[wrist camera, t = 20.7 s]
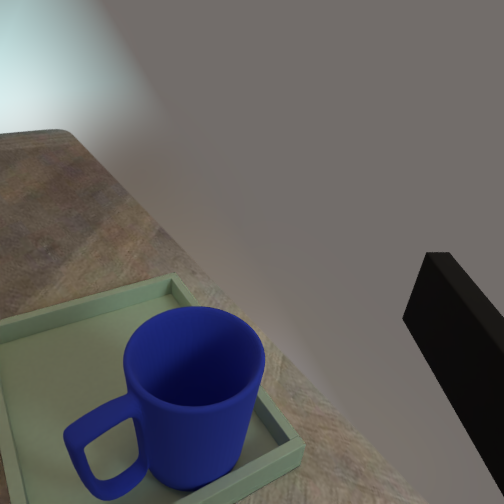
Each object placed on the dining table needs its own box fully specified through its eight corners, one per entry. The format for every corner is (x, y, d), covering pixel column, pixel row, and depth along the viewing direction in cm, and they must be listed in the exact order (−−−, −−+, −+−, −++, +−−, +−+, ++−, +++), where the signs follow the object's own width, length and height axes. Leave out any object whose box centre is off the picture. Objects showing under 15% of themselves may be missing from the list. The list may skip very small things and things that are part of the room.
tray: (300, 465, 33) (306, 444, 31) (37, 617, 24) (29, 597, 23) (175, 291, 47) (175, 271, 46) (-17, 348, 39) (-25, 326, 37)
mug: (55, 478, 30) (27, 375, 24) (202, 384, 37) (206, 288, 32) (121, 589, 25) (105, 493, 20) (273, 457, 33) (294, 360, 27)
